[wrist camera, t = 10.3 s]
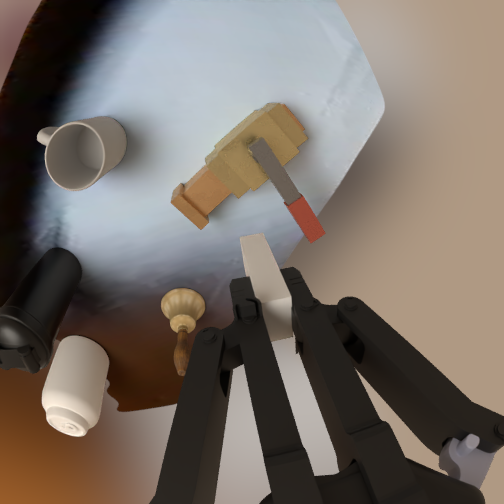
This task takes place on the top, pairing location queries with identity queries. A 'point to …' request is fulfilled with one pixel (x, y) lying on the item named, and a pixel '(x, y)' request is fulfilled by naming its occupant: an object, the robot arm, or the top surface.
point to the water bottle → (37, 311)
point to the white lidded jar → (75, 385)
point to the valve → (239, 162)
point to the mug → (82, 151)
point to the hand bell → (182, 320)
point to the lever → (286, 189)
